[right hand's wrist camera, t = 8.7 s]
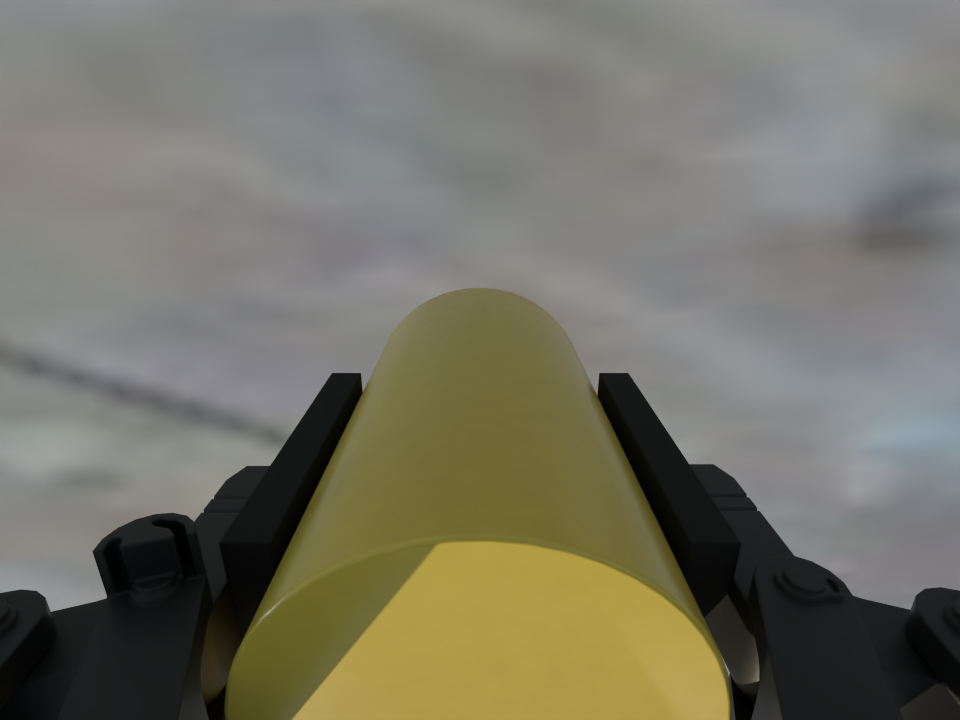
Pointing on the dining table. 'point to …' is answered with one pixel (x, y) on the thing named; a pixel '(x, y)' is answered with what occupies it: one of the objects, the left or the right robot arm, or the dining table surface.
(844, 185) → the dining table surface
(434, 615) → the can
